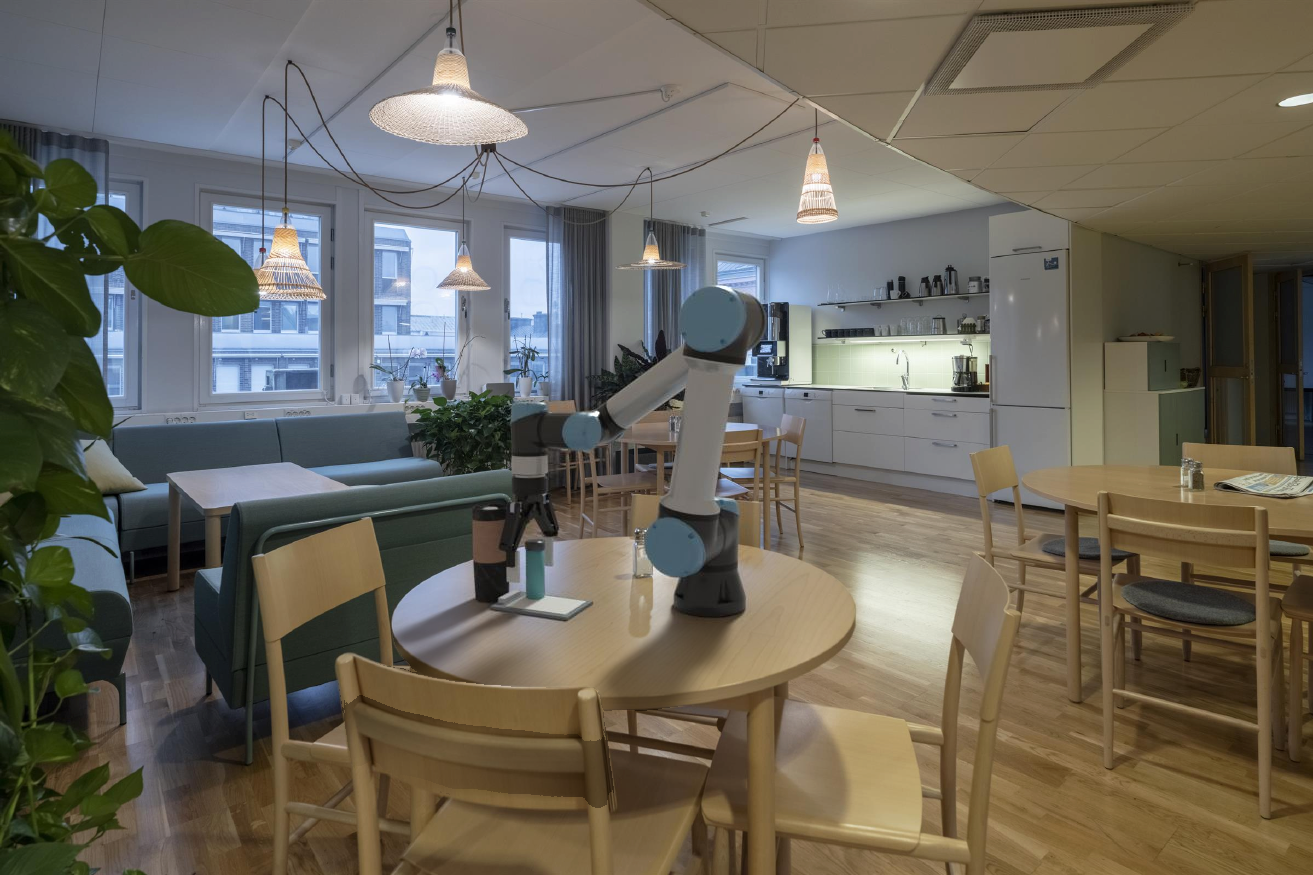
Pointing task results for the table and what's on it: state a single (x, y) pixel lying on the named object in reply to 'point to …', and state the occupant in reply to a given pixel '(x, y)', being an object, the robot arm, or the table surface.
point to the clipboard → (541, 605)
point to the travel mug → (489, 553)
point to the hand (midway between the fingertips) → (531, 573)
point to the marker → (535, 568)
